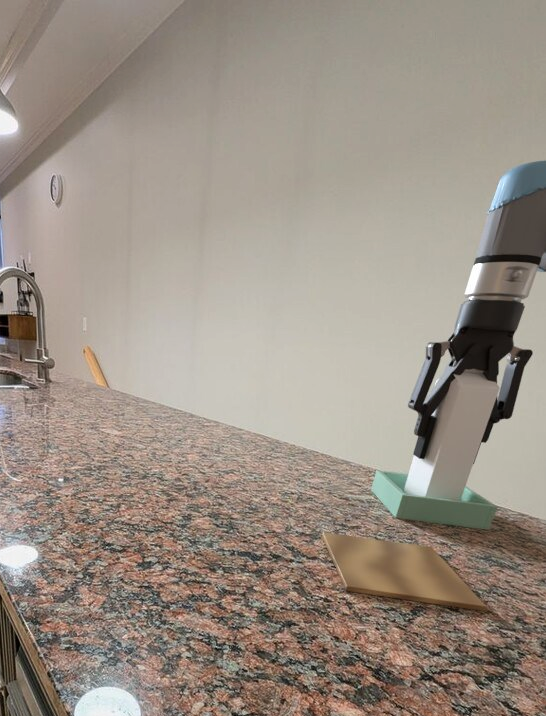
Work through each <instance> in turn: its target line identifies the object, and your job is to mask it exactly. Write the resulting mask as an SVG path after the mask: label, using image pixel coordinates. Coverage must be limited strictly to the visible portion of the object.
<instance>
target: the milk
mask: <svg viewBox="0 0 546 716" xmlns="http://www.w3.org/2000/svg"><path fill="white" fill-rule="evenodd" d="M456 365H457V362H456V361H455V362H454V364H453V367H455V366H456ZM453 367H452V368H453ZM486 371H487V370H486ZM482 372H483V371H480V370H476V369H470V370H468V369H465V371H464V372H463V373H462V374H461V375H456V374H453V375H454V376H455V379H454V380H453V381H452V382H451V384H450V387H449V391H448V392H447V394H446V395H445V397H444V398H443V400H442V401H441V402H440V404H439V405H438V407H437V408H436V410H435V411H434V413H433V414H432V415H431V416H434V417H436V418H437V419H436V423H435V426H434V429H433V432H432V436H431V439H430V442H429V445H428V449H427V452H426V455H425V458H424V459H419V458H418V457H416V456H415V455H413V458H412V461H411V465H410V467H409V471H408V473H407V474H408V478H407V481H406V485H405V488H404V491H403V492H404V493H405V494H409V495H417V496H426V497H434V498H442V499H450V500H458V501H460V500H461V497H462V494H463V492H464V489H465V486H466V487H467V483H468V480H469V477H470V475H471V471H472V469H473V466H474V464H475V462H474V460H475V461H476V459H475V457H476V454H477V452H478V453H479V451H478V449H479V450H480V448H479V446H480V447H481V445H480V443H481V444H482V442H481V440H482V437H483V435H484V432H485V429H486V426H487V423H488V420H489V417H490V415H491V412H492V409H493V406H494V403H495V400H496V397H497V398H498V396H499V392H500V388H501V387H500V385H498V382H497V383H496V382H493V381H488V380H487V379H486V377H485V376H484V375H483V373H482ZM439 379H440V378H438V379H436V381H435V384H434V386H435V385H436V383H437V382H438V380H439ZM477 455H478V454H477ZM476 458H477V457H476ZM473 463H474V464H473Z"/></svg>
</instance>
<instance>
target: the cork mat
mask: <svg viewBox="0 0 546 716" xmlns="http://www.w3.org/2000/svg"><path fill="white" fill-rule="evenodd" d="M321 538H322V540H323V542H324V545H325V547H326V548H327V551H328V554H329V556H330V559H331V561H332V563H333V565H334V567H336V568H335V570H336V573H337V574H338V577H339V579H340V581H341V583H342V586H343V588H344V591H346V592H352V593H359V594H366V595H370V596H371V595H373V596H379V597H385V598H392V599H399V600H405V601H406V600H407V601H413V602H419V603H425V604H434V605H439V606H446V607H452V608H459V609H465V610H466V609H467V610H473V611H480V612H486V610H487V608H488V606H487V605H486V604H485V603H484V602H483V601H482V600H481V599H480V598H479V596H478V595H477V594H476V593H475V592H474V591H473V590H472V589H471V588H470V587H469V586H468V585H467V584H466V583H465V581H464V580H463V579H462V578H461V577H460V576H459V575H458V574H457V573H456V571H455V570H453V568H452V567H451V566H450V565H449V564H448V563H447V562H446V561H445V560H444V559H443V558H442V557H441V556H440V554H439V553H437V550H435V549H434V548H433V547H432V546H426V545H419V544H413V543H412V544H411V543H404V542H397V541H389V540H382V539H377V538H376V539H375V538H368V537H360V536H353V535H345V534H339V533H331V532H322V533H321Z"/></svg>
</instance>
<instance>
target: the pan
mask: <svg viewBox="0 0 546 716" xmlns="http://www.w3.org/2000/svg"><path fill="white" fill-rule="evenodd" d="M408 474H409V473H403V472H395V471H388V470H387V471H386V470H379V469H376V470H375V473H374V478H373V481H372V485H371V488H370V491H371V492H372V493H373V494H374V495H375V496H376V497H377V498H378V500H379V501H380V502H381V503H382V504H383V506H384V507H385V508H386V509H387V510H388V511H389V512H390V513H391V515H392V516H393V517H394V518H395V519H401V520H402V519H403V520H407V521H408V520H409V521H415V522H416V521H417V522H426V523H432V524H438V525H439V524H441V525H446V526H447V525H449V526H456V527H463V528H471V529H479V530H486V531H489V530H490V527H491V525H492V522H493V520H494V517H495V515H496V513H497V510H498V506H497V505H496V504H494V503H493V502H492V501H489V500H488V499H486V498H485V497H483V496H482V495H481V494H479V493H477V492H476V491H474V490H473V489H471V488H469V487H468V486H467V485H466V486H465V489H464V492H463V494H462V497H461V500H460V501H458V500H450V499H442V498H434V497H426V496H417V495H409V494H405V493H404V492H403V491H404V488H405V485H406V481H407V478H408Z"/></svg>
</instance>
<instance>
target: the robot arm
mask: <svg viewBox="0 0 546 716" xmlns="http://www.w3.org/2000/svg"><path fill="white" fill-rule="evenodd" d="M538 272H539V273H546V160H536V161H531V162H525V163H523V164H519V165H517V166H515V167H512V168H511V169H509V170H508V171H507V172H506V173H505V174H503V176H501V178H500V180H499V182H498V185H497V187H496V190H495V193H494V196H493V199H492V201H491V204H490V207H489V210H488V211H487V214H486V220H485V225H484V227H483V231H482V234H481V238H480V242H479V245H478V248H477V252H476V256H475V259H474V263H473V266H472V268H471V271H470V274H469V278H468V281H467V284H466V287H465V290H464V293H463V296H464V297H465V298H466V299H467V300H466V301H463V303H461V304H460V307H459V311H458V314H457V318H456V321H455V325H454V329H453V332H452V334H451V336H450V337H449V338H448V339H447V340H445V341H439V342H437V341H434V342H433V341H430V342H427V344H426V345H425V359H424V362H423V365H422V366H421V370H420V373H419V375H418V377H417V381H416V382H415V386H414V388H413V391H412V392H411V396H410V398H409V401H408V404H407V407H408V409H411V410H412V411H415V412H416V413H417V414H418V415H417V418H416V422H415V425H414V429H413V434H414V435H415V436H417V439H416V443H415V445H414V446H415V447H414V450H413V453H412V455H413V456H414V455H415V456H416V457H418V458H419V459H424V458H425V455H426V452H427V449H428V445H429V442H430V439H431V436H432V432H433V429H434V426H435V423H436V419H437V418H436V417H434V416H431V415H432V414H433V413H434V411H435V410H436V408H437V407H438V405H439V404H440V402H441V401H442V400H443V398H444V397H445V395H446V394H447V392H448V391H449V387H450V384H451V382H452V381H453V380H454V379H455V376H454V375H453V374H456V375H461V374H462V373H463V372H464V371H465V369H468V370H470V369H476V370H480V371H483V372H482V373H483V375H484V376H485V377H486V379H487V380H488V381H493V382H496V383H497V384H498V376H499V374H500V366H499V365H500V363H499V362H500V361H502V360H503V359H504V358H506V362H507V363H506V365H505V368H504V372H503V376H502V381H501V385H500V387H499V388H500V389H499V392H498V396H497V397H496V400H495V403H494V406H493V409H492V412H491V415H490V417H489V420H488V423H487V426H486V429H485V432H484V435H483V437H482V440H481V443H480V446H479V449H478V452H477V454H476V457H475V460H474V463H473V465H475V462H476V459H477V456H478V453H479V451H480V448H481V445H482V443H484V444H485V443H487V442H488V440H489V438H490V436H491V433H492V430H493V428H494V425H495V424H498V423H499V422H500V421H502V420H509V419H511V418H512V416H513V415H514V414H513V413H514V409H515V405H516V401H517V398H518V395H519V390H520V386H521V382H522V378H523V375H524V370H525V367H526V366H527V364H528V363H529V361H530V359H531V358H532V356H533V354H534V353H533V350H532V349H526V348H521V347H518V346H515V342H514V335H515V334H516V332H517V330H518V327H519V325H520V322H521V319H522V316H523V314H524V310H525V307H526V306H525V304H524V303H523V302H522V301H523V300H525V299H527V298H529V296H530V292H531V289H532V286H533V283H534V281H535V277H536V275H537V273H538ZM446 351H448V353H449V356H450V360H449V362H448V363H447V364H446V366H445V367H444V371H443V373H442V375H441V376H440V377H439V378H438V379H439V380H438V379H437V380H438V382H437V383H436V382H435V383H436V385H435V384H434V386H433V387H432V388H431V386H432V384H433V381H434V378H435V376H436V374H437V371H438V369H439V366H440V363H441V360H442V357H444V356H445V354H446ZM506 356H507V357H506ZM455 361H456V362H457V365H456V366H455V367H453V364H454V362H455ZM452 367H453V368H452ZM486 370H487V371H486ZM430 388H431V390H430ZM429 391H430V392H429Z"/></svg>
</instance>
